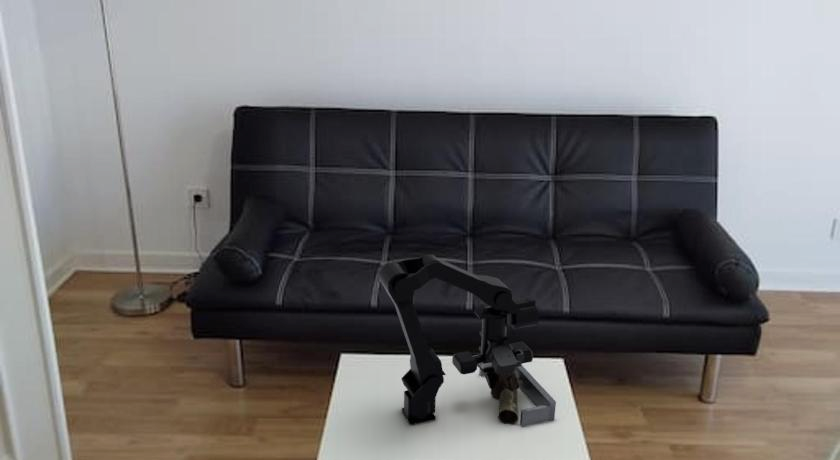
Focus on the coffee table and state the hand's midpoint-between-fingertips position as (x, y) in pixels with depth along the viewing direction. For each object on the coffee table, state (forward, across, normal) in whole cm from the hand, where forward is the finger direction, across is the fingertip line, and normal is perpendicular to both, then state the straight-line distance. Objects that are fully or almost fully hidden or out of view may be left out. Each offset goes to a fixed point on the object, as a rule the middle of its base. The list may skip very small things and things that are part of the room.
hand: (491, 388), depth 189 cm
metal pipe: (+4, +3, -2) cm, 5 cm away
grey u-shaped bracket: (+4, +7, 0) cm, 8 cm away
